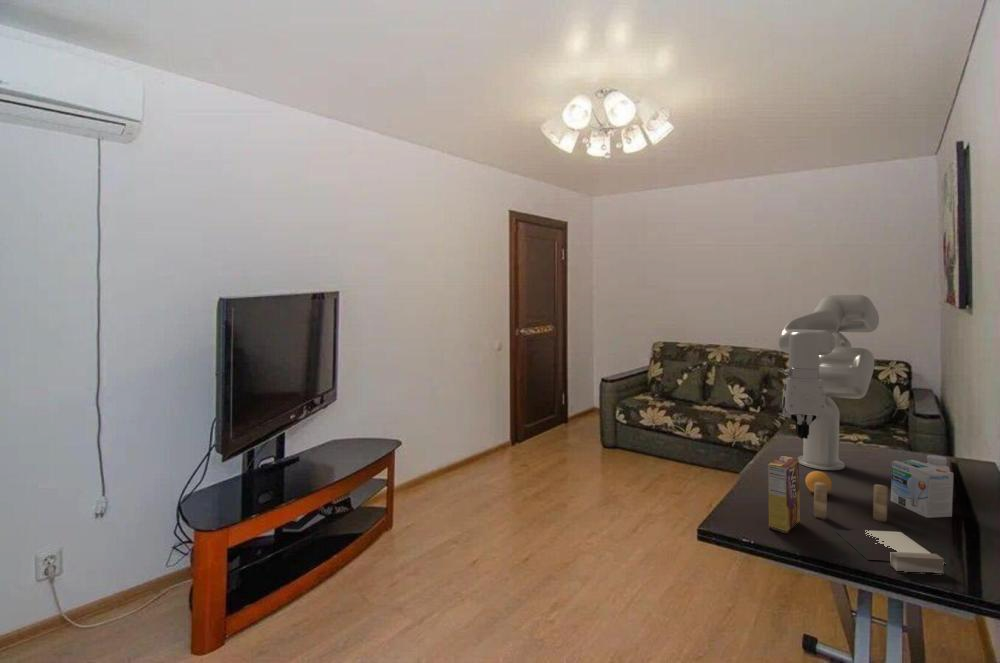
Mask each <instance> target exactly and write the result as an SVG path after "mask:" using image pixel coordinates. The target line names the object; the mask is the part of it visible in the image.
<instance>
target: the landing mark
mask: <svg viewBox="0 0 1000 663" xmlns="http://www.w3.org/2000/svg"><path fill="white" fill-rule="evenodd" d="M864 530H865V532H866V531H867V532H866V533H865V534H867V533H869V534H867V535H870V536H873V537H876V538H879V540H876V541H879V542H878V543H880V544H884V546H885V547H887V546H890V547H888V548H892V549H894V550H896V551H897V552H908V553H927V554H932V553H931V552H930V551H928V550H927V549H926V548H924V547H923V546H921V545H920V544H918V543H917V542H915V540H913V539H911V538H910V537H909V536H907V535H905V534H904V533H903V532H901V531H890V530H889V531H888V530H887V531H886V530H869V531H868V530H867V529H864ZM871 534H872V535H871ZM867 535H866V536H867ZM870 536H869V537H870ZM873 537H872V538H873ZM876 538H875V539H876ZM882 541H884V542H882ZM875 544H877V543H875Z"/></svg>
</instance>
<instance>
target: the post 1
mask: <svg viewBox="0 0 1000 663" xmlns="http://www.w3.org/2000/svg"><path fill="white" fill-rule="evenodd" d="M827 506H828V492H827V485H826V484H824V483H819V482H816V483H814V492H813V517H814V516H815V517H814V518H816V517H818V518H826V517H827V516H828V515H827V512H828V508H827ZM818 518H817V519H818ZM826 519H827V518H826Z"/></svg>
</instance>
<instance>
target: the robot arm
mask: <svg viewBox="0 0 1000 663" xmlns="http://www.w3.org/2000/svg"><path fill="white" fill-rule="evenodd" d="M878 312H879V311H877V308H876V306H875V305H874V303H873V302H872V300H871V299H870V298H869V297H867V296H865V295H863V294H834V295H833V294H832V295H828V296H825V297H823V298H821V300H820V301H819V302H818V304H817V305H816V307H815V308H814V310H813V311H812V312H811V313H809V314H805V315H803V316H799V317H798V318H795V319H792V320H790V321H789V322H788V323H786V325H785V326H784V328H783V329H782V331H781V332H780V335H779V338H778V347H779V349H780V350H781V351H782V352H783V353H785V354H788V367H787V369H784V370H783V371H782V373H783V375H786V376H787V377H786V378H785V381H784V383H783V384H784V386H783V388H782V389H783V390H782V399H781V400H782V401H781V408H782V413H781V416H783V417H785V418H788V419H791V420H792V421H793V422H794V424H795V435H796V437H798V438H799V439H801V440H802V441H803V444H802V446H803V447H802V453H803V454H802V455H799V456H798V457H797V459H799V465H802V466H804V467H807V468H810V469H811V468H812V469H815V470H816V469H817V470H822V471H841V470H843V469H845V463H844V461H841V460H840V458H839V456H840V455H839V454H840V453H839V451H840V416H841V414H840V409H839V407H838V405H837V404H836V402H835V401H834V400H833V399H832V398H842V399H843V398H844V399H852V400H857V399H858V400H859V399H862V398H864V397H865V396H866V394H867V392H868V391H869V386H870V384H871V380H872V376H873V374H874V370H875V369H874V368H875V357H874V355H873V352H872V351H871V350H869V349H867V348H863V347H862V348H861V347H852V343H851V341H850V340H849V339H848V338H847V337H846V336H845V335H844V334H842V333H872V332H874V331H876V330H877V328H878V326H879V324H880V315H879V313H878ZM802 415H803V417H802Z"/></svg>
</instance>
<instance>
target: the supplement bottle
mask: <svg viewBox="0 0 1000 663" xmlns="http://www.w3.org/2000/svg"><path fill="white" fill-rule="evenodd" d="M926 461H927V462H926V463H925V462H924V463H925V464H928V465H931V466H934V467H937V468H940V469H943V470H946V471H949V472H951V469H950V467H949V466H948V465H947V464H948V463H947V462H948V459H947V457H945V456H942V455H936V454H935V455H934V454H928V455H926Z"/></svg>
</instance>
